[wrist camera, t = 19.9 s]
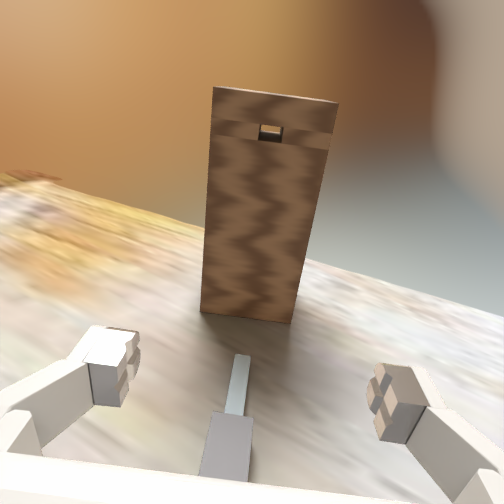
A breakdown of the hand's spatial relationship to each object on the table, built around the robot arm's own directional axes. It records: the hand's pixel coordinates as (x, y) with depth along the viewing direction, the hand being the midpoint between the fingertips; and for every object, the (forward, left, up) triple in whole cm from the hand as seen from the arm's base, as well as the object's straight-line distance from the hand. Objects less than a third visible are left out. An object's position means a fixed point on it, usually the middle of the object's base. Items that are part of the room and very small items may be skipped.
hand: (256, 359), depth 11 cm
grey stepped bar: (0, +15, -24) cm, 28 cm away
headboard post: (0, +37, -24) cm, 44 cm away
